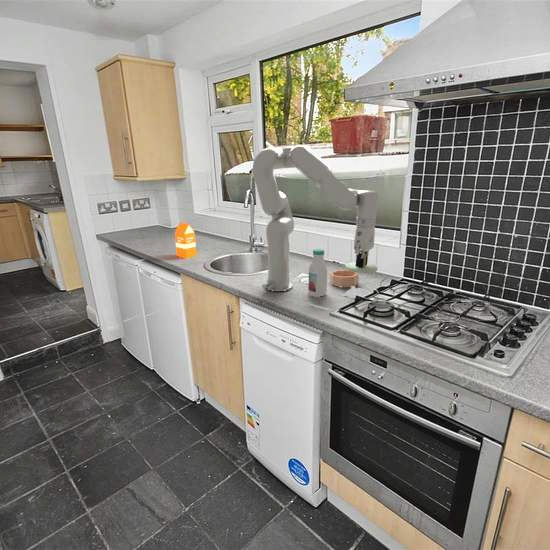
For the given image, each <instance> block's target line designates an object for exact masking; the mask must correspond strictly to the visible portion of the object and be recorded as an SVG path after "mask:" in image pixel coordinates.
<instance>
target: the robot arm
mask: <svg viewBox="0 0 550 550" xmlns="http://www.w3.org/2000/svg"><path fill="white" fill-rule="evenodd" d="M290 168H291V169H292V168H293V169H294V168H295V169H297V170H298V171H299V172H300V173H301V174H302V175H304V176H305V177H306V178H307V179H308V180H310V182H312V183H313V184H314V185H315V187H316V188H318V189H319V191H320V192H321V193H323V194H324V196H326V197H327V198H328V199H329V200H330V201H331V202H332V203H333V204H335V206H337V207H338V208H340V209H341V210H343V211H350V210H352V209H354V208H357V210H356V220H355V226H356V229H355V235H354V241H353V250H354V254H355V262H356V267H360V268H363V264H364V258H363V256H364V253H365V254H366V261H365V266H366V265H367V263H368V260H369V259H368V258H369V252H370V251H371V250H372V249H374V246H375V237H376V235H375V234H376V233H375V232H376V231H375V227H376V222H377V221H376V220H377V212H378V203H379V192H378V191H377V190H366V189H364V190H360V189H355V188H354V189H353V188H348V187H347V186H346V185H344V184H343V183H342V182H341V181H340V180H339V179H338V177H336V176H335V175H334V173H333V171H332V169H331V168H330V167H329V165H327V164H326V163H325V162H324V161H323V160H321V159H320V158H319V157H317V156H316V155H315V154H314V152H313V150H312V149H311V148H310V147H309V146H307V145H303V144H302V145H301V144H298V145H295V146H290V147H289V146H288V147H267V148H264V149H262V150H261V151H259V153H258V154H257V155H256V156H255V158H254V160H253V163H252V175H253V179H254V182H255V185H256V190H257V193H258V198H259V200H260V204H261V205H260V206H261V208H262V211H263V212H264V214H266V215H267V216H271V220H269V222H268V224H267V226H266V230H265V234H266V242H267V275H268V276H267V280H266V283H264V284H262V286H261V287H262V289H265V290H267V289H269V290H273V291H284V290H288V289H291V288H292V287H294V286H293V283H291V281H290V241H289V235H290V234H291V233H293V231H294V228H295V222H294V216H293V212H292V209H291V206H290V202H289V199H288V197H287V196H286V194H285V193H284V192H282V191H280V190H279V187H278V184H277V181H276V177H275V175H274V170H279V169H280V170H281V169H290ZM361 253H362V254H361ZM266 288H267V289H266ZM292 289H293V288H292ZM292 289H291V290H292ZM269 290H268V291H269ZM273 291H272V292H273Z"/></svg>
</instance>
